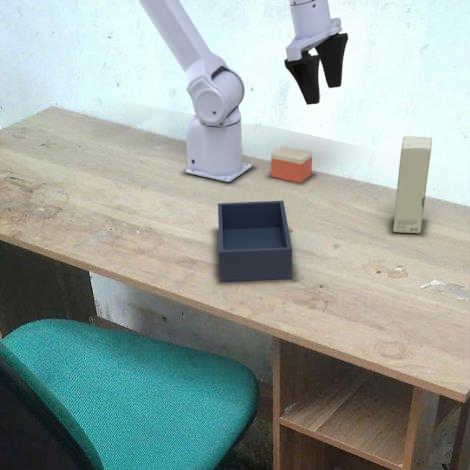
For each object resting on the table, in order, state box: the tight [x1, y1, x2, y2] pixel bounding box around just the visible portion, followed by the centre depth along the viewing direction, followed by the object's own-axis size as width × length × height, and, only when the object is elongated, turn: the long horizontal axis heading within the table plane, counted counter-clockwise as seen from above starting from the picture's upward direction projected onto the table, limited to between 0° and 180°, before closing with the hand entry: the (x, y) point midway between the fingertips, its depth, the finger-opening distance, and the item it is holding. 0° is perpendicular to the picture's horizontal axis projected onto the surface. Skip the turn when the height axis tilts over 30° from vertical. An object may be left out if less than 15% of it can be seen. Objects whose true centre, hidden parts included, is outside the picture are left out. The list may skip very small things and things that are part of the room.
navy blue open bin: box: [217, 200, 293, 283], centre depth 119 cm, size 16×10×5 cm, turn 2°
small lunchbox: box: [270, 145, 313, 184], centre depth 140 cm, size 6×4×4 cm, turn 58°
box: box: [392, 135, 433, 234], centre depth 121 cm, size 5×4×13 cm
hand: (324, 95), depth 129 cm, fingers open, 7 cm apart
